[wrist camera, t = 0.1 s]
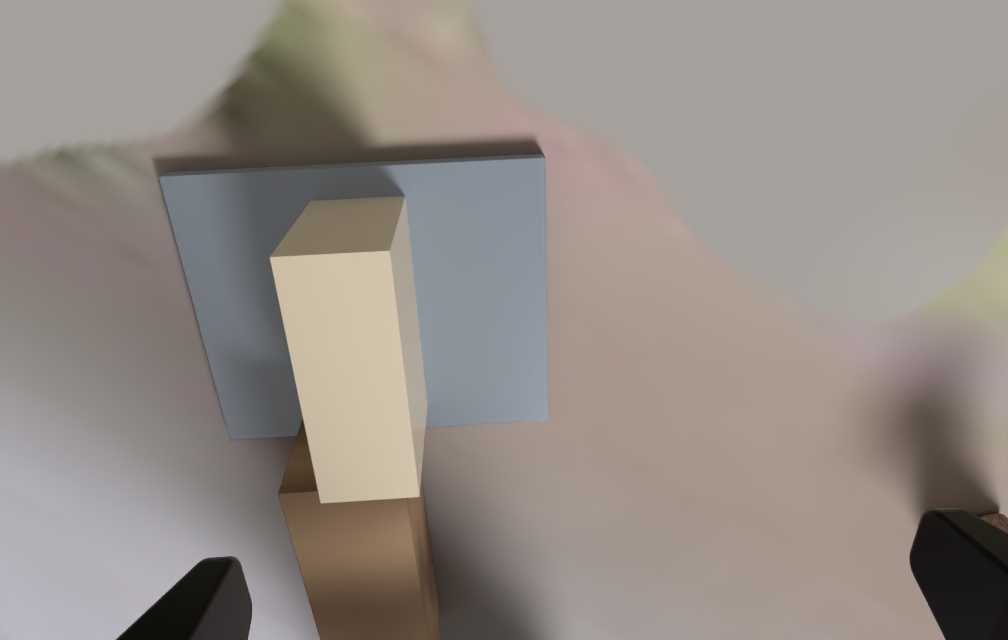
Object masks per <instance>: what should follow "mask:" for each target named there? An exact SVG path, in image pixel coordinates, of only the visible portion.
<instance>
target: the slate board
mask: <svg viewBox="0 0 1008 640" xmlns="http://www.w3.org/2000/svg"><path fill="white" fill-rule="evenodd" d="M159 179H160V183H161V187H162V191H163V194H164V198H165V202H166V205H167V209H168V213H169V216H170V220H171V224H172V227H173V231H174V235H175V239H176V242H177V246H178V250H179V253H180V257H181V261H182V264H183V268H184V272H185V275H186V279H187V283H188V287H189V290H190V294H191V298H192V301H193V305H194V309H195V312H196V316H197V320H198V323H199V327H200V331H201V335H202V338H203V342H204V346H205V349H206V353H207V357H208V360H209V364H210V368H211V372H212V375H213V379H214V383H215V386H216V390H217V394H218V397H219V401H220V405H221V408H222V412H223V416H224V420H225V423H226V427H227V431H228V434H229V438H230V440H241V439H257V438H273V437H289V436H297V434H298V431H299V428H300V425H301V422H302V418H303V420H304V425H305V430H306V435H307V440H308V445H309V449H310V454H311V459H312V464H313V469H314V474H315V478H316V483H317V488H318V493H319V498H320V503H336V502H351V501H366V500H382V499H397V498H412V497H420V485H421V474H422V462H423V451H424V439H425V428H433V427H450V426H466V425H482V424H498V423H514V422H530V421H546V420H548V395H547V285H546V176H545V156H544V154H523V155H502V156H482V157H462V158H441V159H421V160H401V161H381V162H360V163H340V164H320V165H299V166H279V167H259V168H239V169H218V170H198V171H178V172H166V173H164V174H163V175H161V176H159Z"/></svg>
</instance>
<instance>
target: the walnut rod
mask: <svg viewBox="0 0 1008 640" xmlns="http://www.w3.org/2000/svg"><path fill="white" fill-rule="evenodd" d="M278 495H279V499H280V502H281V505H282V509H283V512H284V516H285V519H286V523H287V526H288V529H289V533H290V536H291V540H292V543H293V547H294V550H295V554H296V557H297V560H298V564H299V567H300V571H301V574H302V578H303V581H304V585H305V588H306V591H307V595H308V598H309V602H310V605H311V609H312V612H313V615H314V619H315V622H316V626H317V629H318V633H319V636H320V640H439V630H440V613H439V605H438V597H437V589H436V581H435V573H434V565H433V558H432V551H431V543H430V536H429V529H428V522H427V514H426V507H425V500H424V492H423V485H422V478H421V485H420V497H412V498H397V499H382V500H366V501H351V502H336V503H320V498H319V493H318V488H317V483H316V478H315V474H314V469H313V464H312V459H311V454H310V449H309V445H308V440H307V435H306V430H305V425H304V420H303V418H302V422H301V425H300V428H299V431H298V434H297V437H296V440H295V443H294V446H293V450H292V453H291V456H290V459H289V462H288V465H287V468H286V471H285V474H284V478H283V481H282V484H281V487H280V490H279V493H278Z"/></svg>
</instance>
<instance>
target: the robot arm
mask: <svg viewBox="0 0 1008 640" xmlns="http://www.w3.org/2000/svg"><path fill="white" fill-rule="evenodd" d="M910 566H911V570H912V572H913V575H914V577H915V579H916V581H917V583H918V585H919V587H920V589H921V591H922V593H923V595H924V597H925V599H926V601H927V603H928V605H929V607H930V609H931V611H932V613H933V615H934V617H935V619H936V621H937V623H938V625H939V627H940V629H941V631H942V633H943V635H944V637H945V639H946V640H1008V532H1006V531H1004V530H1002V529H1000V528H998V527H996V526H994V525H992V524H990V523H989V522H987V521H985V520H983V519H981V518H979V517H977V516H975V515H973V514H971V513H970V512H968V511H966V510H964V509H961V508H955V507H951V508H936V509H929V510H927V511H926V512H925V513H924V514H923V515H922V517H921V519H920V523H919V526H918V529H917V532H916V535H915V538H914V542H913V545H912V548H911V551H910ZM251 619H252V602H251V598H250V594H249V591H248V587H247V584H246V580H245V577H244V573H243V570H242V567H241V564H240V562H239V560H238V559H237V558H236V557H232V556H228V557H214V558H206V559H204V560H202V561H200V562H199V563H198V564H197V565H196V566H194V567H193V568H192V569H191V570H190V571H189V572H188V573H187V574H186V575H185V576H184V577H183V578H182V579H180V580H179V581H178V582H177V583H176V584H175V585H174V586H173V587H172V588H171V589H170V590H169V591H168V592H166V593H165V594H164V595H163V596H162V597H161V598H160V599H159V600H158V601H157V602H156V603H155V604H154V605H153V606H151V607H150V608H149V609H148V610H147V611H146V612H145V613H144V614H143V615H142V616H141V617H140V618H139V619H137V620H136V621H135V622H134V623H133V624H132V625H131V626H130V627H129V628H128V629H127V630H126V631H125V632H123V633H122V634H121V635H120V636H119V637H118V638H117V639H116V640H248V635H249V630H250V624H251Z"/></svg>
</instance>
